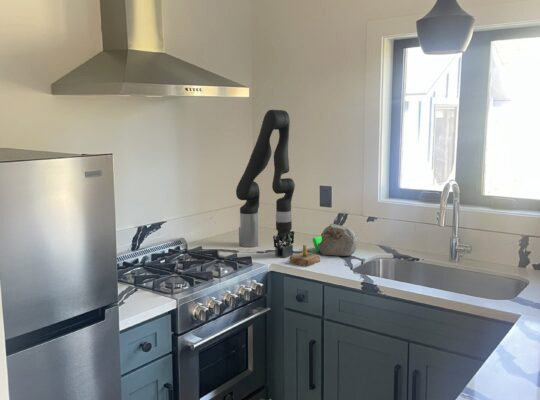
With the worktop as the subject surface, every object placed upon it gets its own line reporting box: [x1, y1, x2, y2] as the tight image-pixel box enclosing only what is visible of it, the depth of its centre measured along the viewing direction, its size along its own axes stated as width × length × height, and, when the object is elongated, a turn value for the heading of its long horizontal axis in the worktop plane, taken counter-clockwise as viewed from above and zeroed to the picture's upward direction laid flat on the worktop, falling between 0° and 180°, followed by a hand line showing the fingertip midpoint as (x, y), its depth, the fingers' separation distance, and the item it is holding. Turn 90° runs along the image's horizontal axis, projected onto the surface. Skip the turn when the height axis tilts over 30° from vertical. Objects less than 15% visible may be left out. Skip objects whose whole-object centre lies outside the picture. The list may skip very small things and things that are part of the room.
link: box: [274, 243, 294, 259], centre depth 262 cm, size 6×6×5 cm
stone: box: [318, 223, 358, 257], centre depth 262 cm, size 19×7×15 cm, turn 70°
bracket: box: [311, 235, 322, 253], centre depth 276 cm, size 20×10×7 cm, turn 117°
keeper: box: [289, 244, 321, 267], centre depth 250 cm, size 10×10×8 cm
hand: (284, 254), depth 262 cm, fingers closed on link, 6 cm apart
